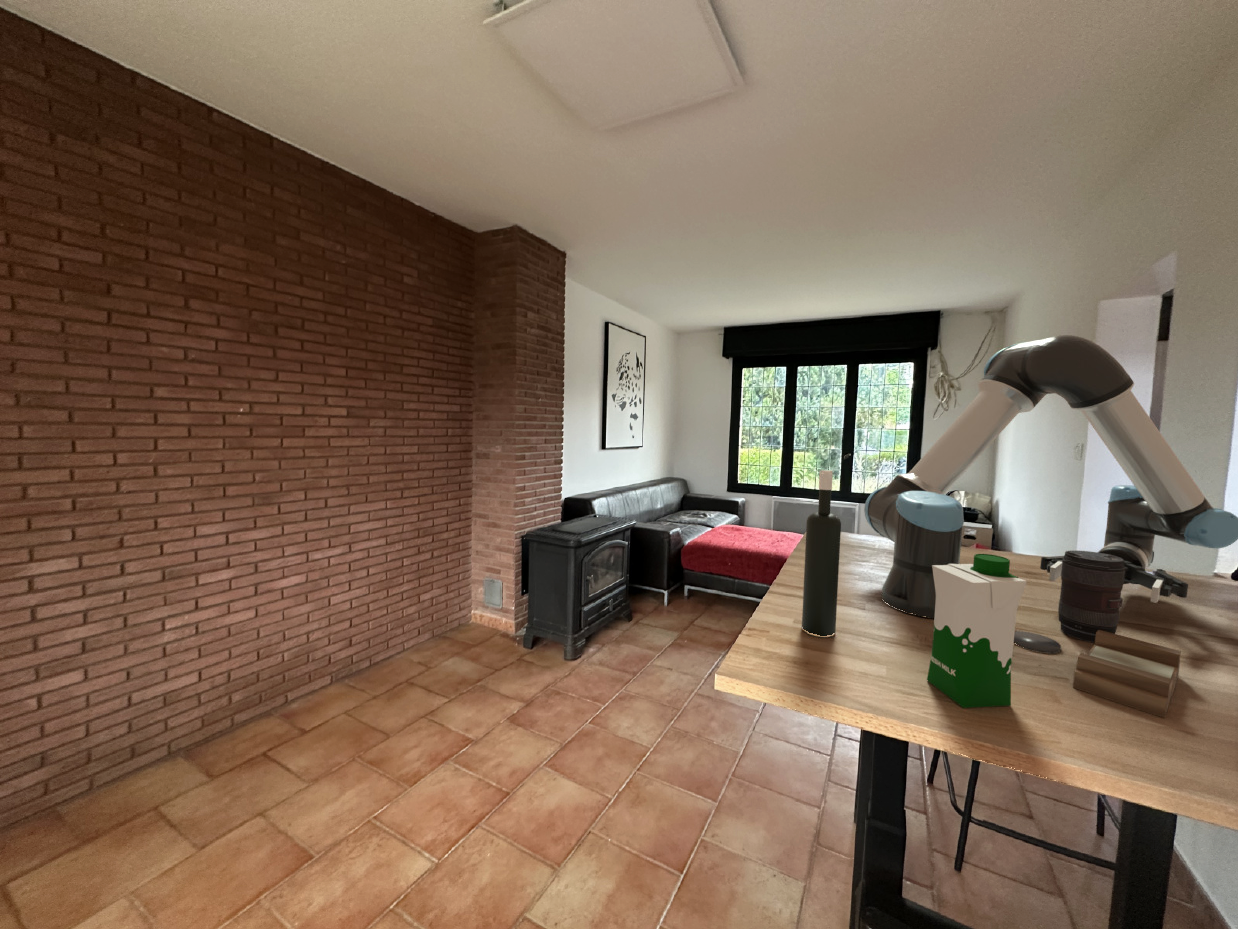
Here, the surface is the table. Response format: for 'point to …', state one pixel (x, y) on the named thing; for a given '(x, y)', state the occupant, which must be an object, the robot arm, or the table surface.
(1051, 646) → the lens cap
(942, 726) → the table surface
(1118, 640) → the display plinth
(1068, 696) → the table surface
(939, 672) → the milk carton
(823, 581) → the wine bottle
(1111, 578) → the camera lens
